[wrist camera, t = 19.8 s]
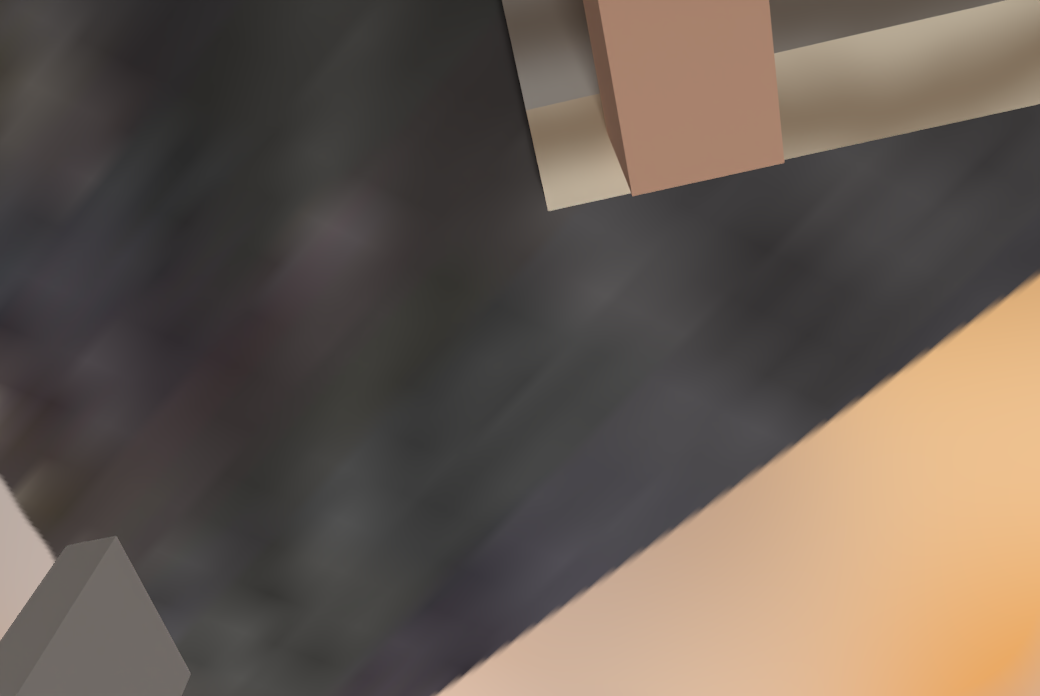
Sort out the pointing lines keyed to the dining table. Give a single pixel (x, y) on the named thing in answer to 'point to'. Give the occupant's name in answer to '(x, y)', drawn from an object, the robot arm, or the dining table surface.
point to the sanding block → (686, 88)
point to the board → (792, 77)
